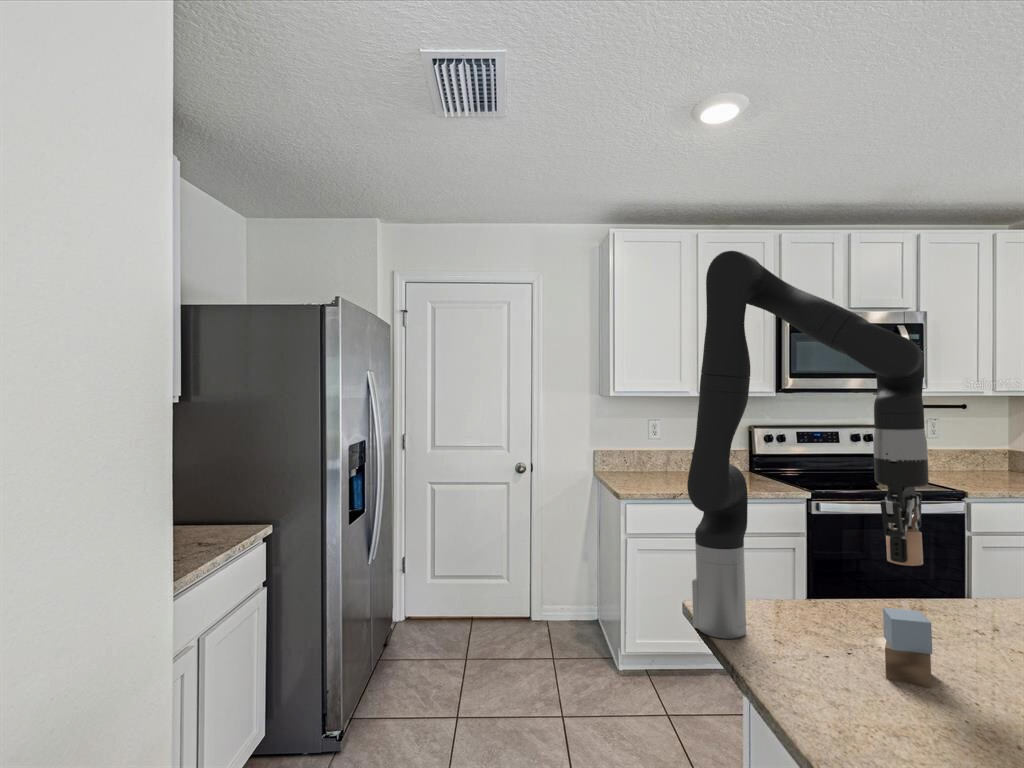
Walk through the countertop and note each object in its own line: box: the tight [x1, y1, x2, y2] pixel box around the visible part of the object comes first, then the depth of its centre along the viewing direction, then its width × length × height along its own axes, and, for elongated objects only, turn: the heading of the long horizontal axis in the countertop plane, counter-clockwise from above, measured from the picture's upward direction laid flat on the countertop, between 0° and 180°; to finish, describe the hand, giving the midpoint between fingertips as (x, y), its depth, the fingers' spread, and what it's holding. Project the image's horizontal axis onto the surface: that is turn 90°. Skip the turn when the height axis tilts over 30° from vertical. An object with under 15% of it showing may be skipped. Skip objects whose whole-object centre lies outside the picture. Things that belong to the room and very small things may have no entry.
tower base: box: [884, 640, 932, 689], centre depth 96 cm, size 6×6×5 cm
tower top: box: [882, 607, 933, 655], centre depth 97 cm, size 6×6×5 cm
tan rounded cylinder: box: [885, 527, 924, 567], centre depth 97 cm, size 5×5×5 cm
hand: (904, 557), depth 97 cm, fingers closed on tan rounded cylinder, 5 cm apart
